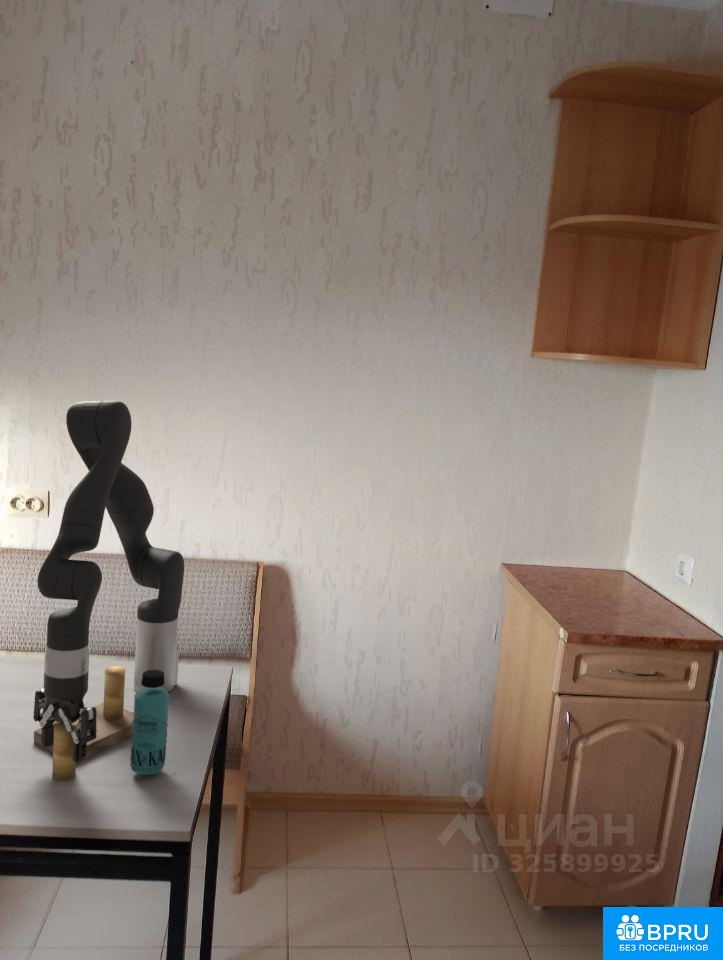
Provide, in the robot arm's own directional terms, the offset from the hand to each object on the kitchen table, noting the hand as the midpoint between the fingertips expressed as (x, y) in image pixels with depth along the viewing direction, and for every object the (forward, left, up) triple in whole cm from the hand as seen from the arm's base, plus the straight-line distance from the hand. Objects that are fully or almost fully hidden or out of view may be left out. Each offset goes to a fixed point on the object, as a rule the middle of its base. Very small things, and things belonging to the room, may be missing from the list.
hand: (63, 752), depth 144 cm
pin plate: (-13, -8, -4) cm, 16 cm away
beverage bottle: (-10, +11, -5) cm, 16 cm away
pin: (0, 0, -5) cm, 5 cm away
